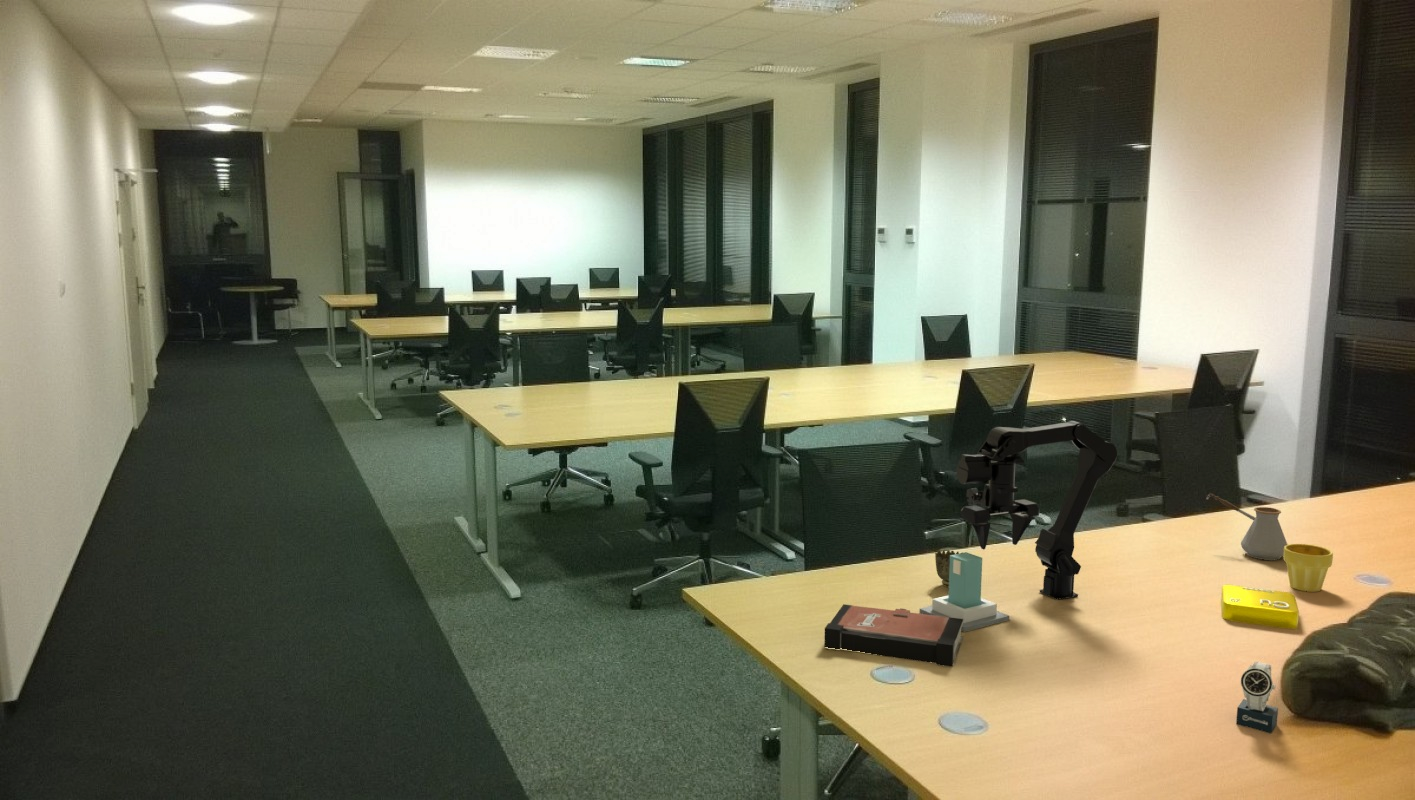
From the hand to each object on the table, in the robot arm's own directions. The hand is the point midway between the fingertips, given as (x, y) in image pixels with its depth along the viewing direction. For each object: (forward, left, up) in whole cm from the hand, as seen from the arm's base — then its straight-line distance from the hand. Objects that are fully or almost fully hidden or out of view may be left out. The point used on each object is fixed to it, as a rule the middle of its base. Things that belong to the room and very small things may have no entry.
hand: (998, 546), depth 241 cm
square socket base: (+14, +6, -13) cm, 20 cm away
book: (+37, +13, -14) cm, 41 cm away
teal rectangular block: (+14, +6, -12) cm, 19 cm away
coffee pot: (-87, -4, -13) cm, 88 cm away
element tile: (-49, +31, -14) cm, 59 cm away
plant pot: (-75, +23, -13) cm, 80 cm away
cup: (+4, -13, -13) cm, 19 cm away
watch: (0, +70, -13) cm, 71 cm away
